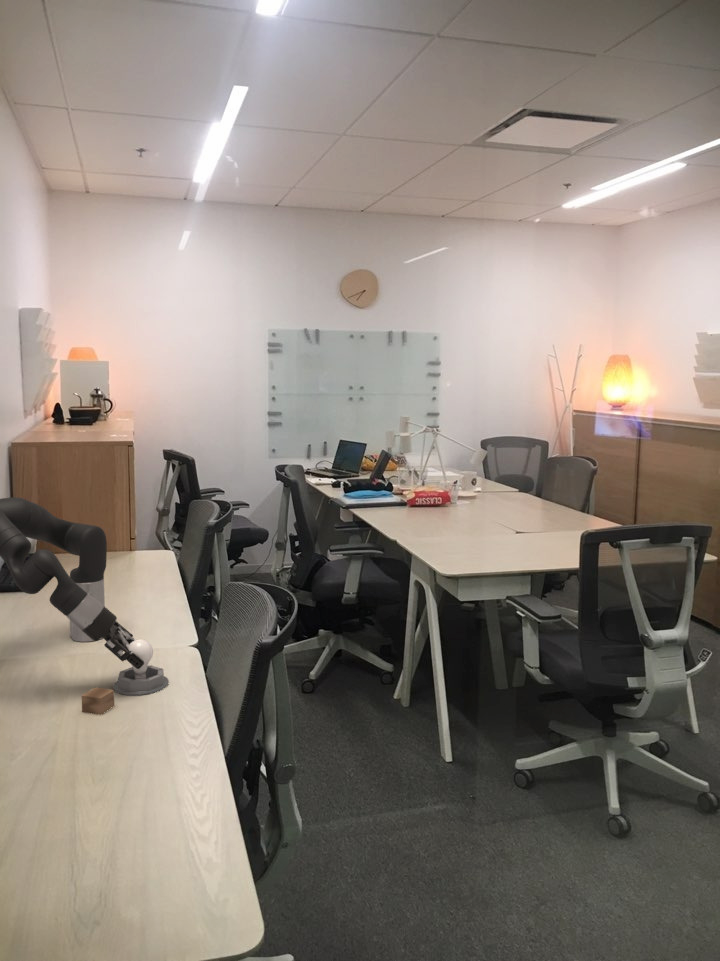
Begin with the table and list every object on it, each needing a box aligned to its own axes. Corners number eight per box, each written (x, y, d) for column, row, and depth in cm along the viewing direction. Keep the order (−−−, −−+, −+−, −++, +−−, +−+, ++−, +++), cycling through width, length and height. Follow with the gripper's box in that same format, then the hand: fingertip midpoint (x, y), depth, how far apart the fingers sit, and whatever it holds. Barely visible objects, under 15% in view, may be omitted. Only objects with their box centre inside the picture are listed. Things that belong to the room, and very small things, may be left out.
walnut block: (82, 712, 173) (81, 695, 173) (95, 704, 178) (95, 687, 178) (101, 715, 172) (100, 698, 171) (114, 706, 177) (113, 690, 176)
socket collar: (102, 687, 187) (101, 675, 187) (144, 671, 198) (143, 660, 198) (138, 700, 180) (138, 687, 180) (179, 682, 191) (179, 670, 190)
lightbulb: (159, 680, 191) (157, 637, 189) (144, 689, 185) (142, 645, 183) (137, 676, 193) (135, 634, 191) (121, 686, 187) (120, 642, 185)
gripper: (83, 619, 191) (132, 661, 195) (76, 637, 177) (129, 682, 181) (105, 597, 191) (153, 639, 195) (100, 614, 178) (152, 658, 182)
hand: (142, 659), depth 188 cm, fingers open, 8 cm apart
